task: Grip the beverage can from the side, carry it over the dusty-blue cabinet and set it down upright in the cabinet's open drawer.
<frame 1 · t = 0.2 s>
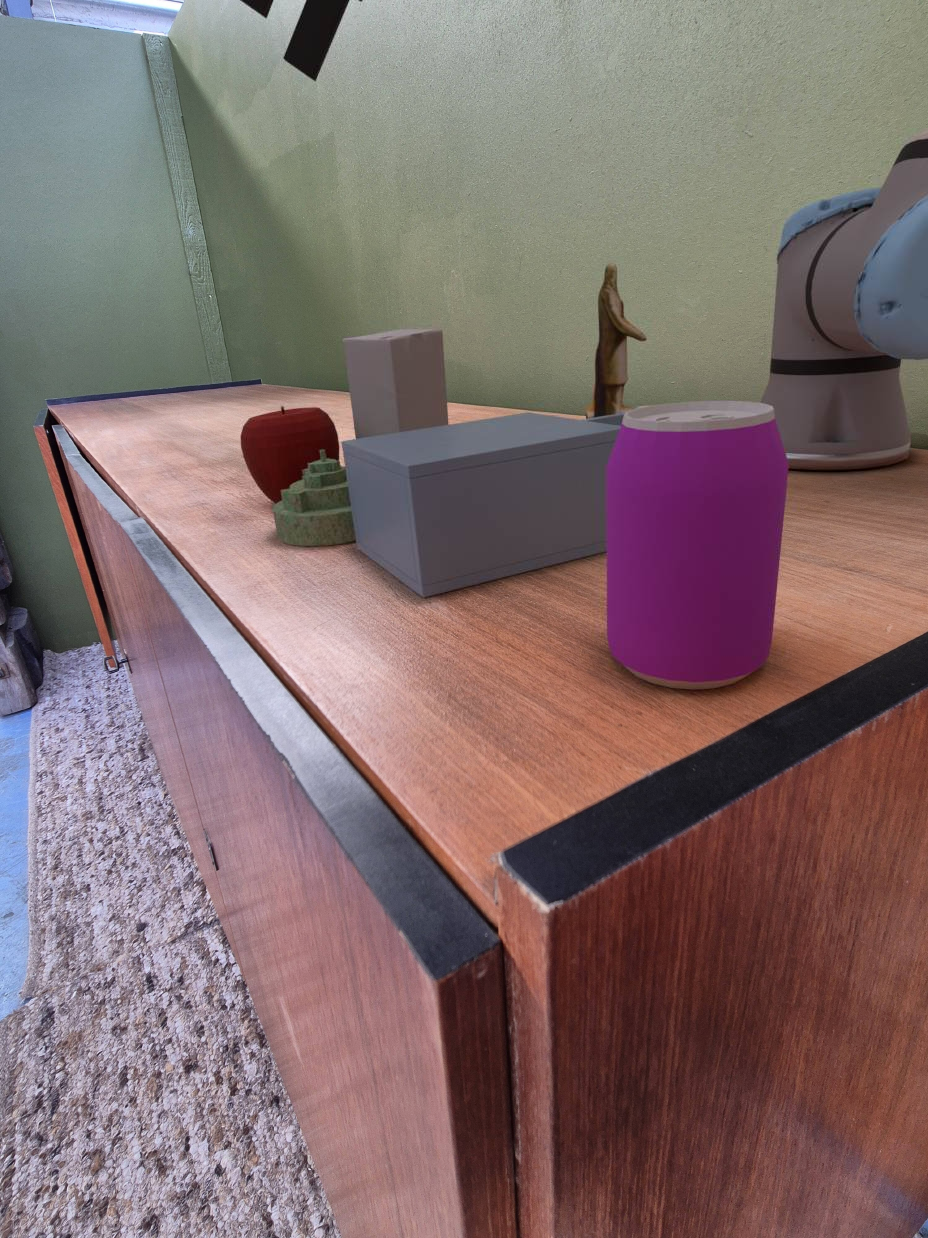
hand: (275, 40, 51), 36 cm above the table, tool tilted 35°, fingers open, 13 cm apart
cabinet: (486, 547, 55), on the table
decorative artifact: (335, 531, 64), on the table
figurine: (615, 474, 76), on the table
apple: (301, 506, 74), on the table
drawer: (644, 460, 59), point 4 cm above the table, slide at 11.0 cm
cosmetic box: (410, 492, 76), on the table
beverage can: (685, 663, 35), on the table
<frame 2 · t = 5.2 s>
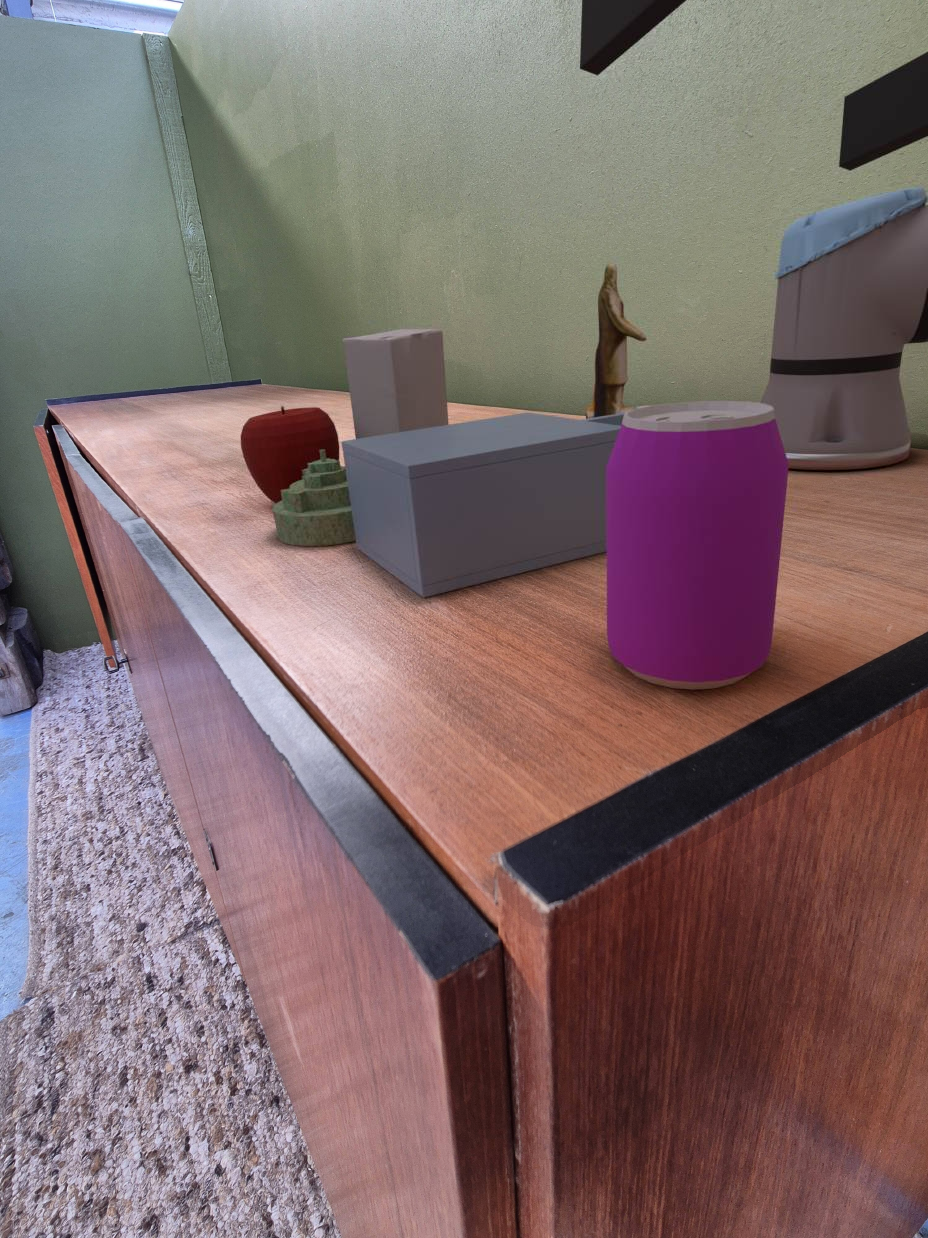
hand: (732, 87, 27), 24 cm above the table, tool horizontal, fingers open, 13 cm apart
nothing on the table moved.
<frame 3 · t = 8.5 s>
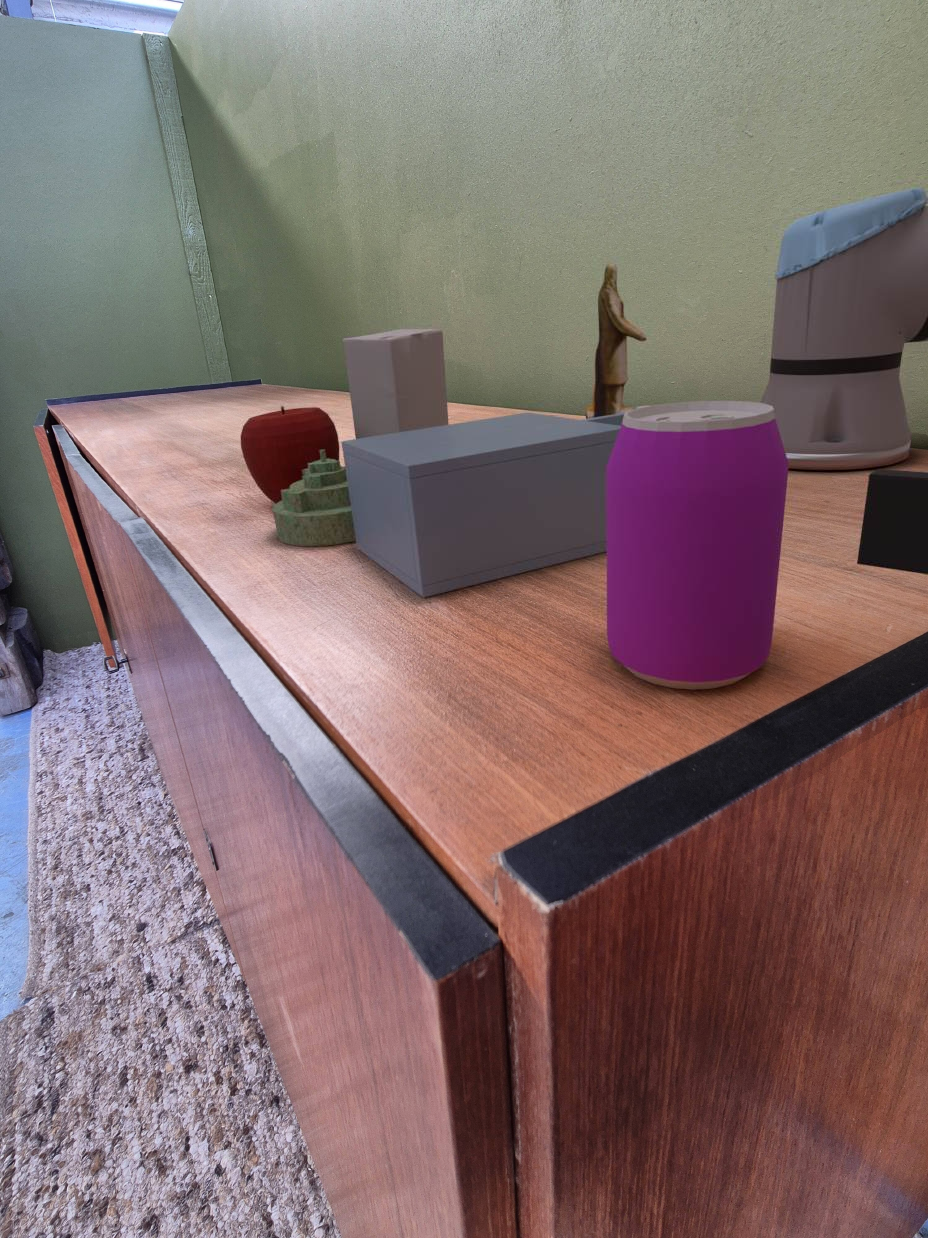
hand: (926, 470, 26), 10 cm above the table, tool horizontal, fingers open, 13 cm apart
nothing on the table moved.
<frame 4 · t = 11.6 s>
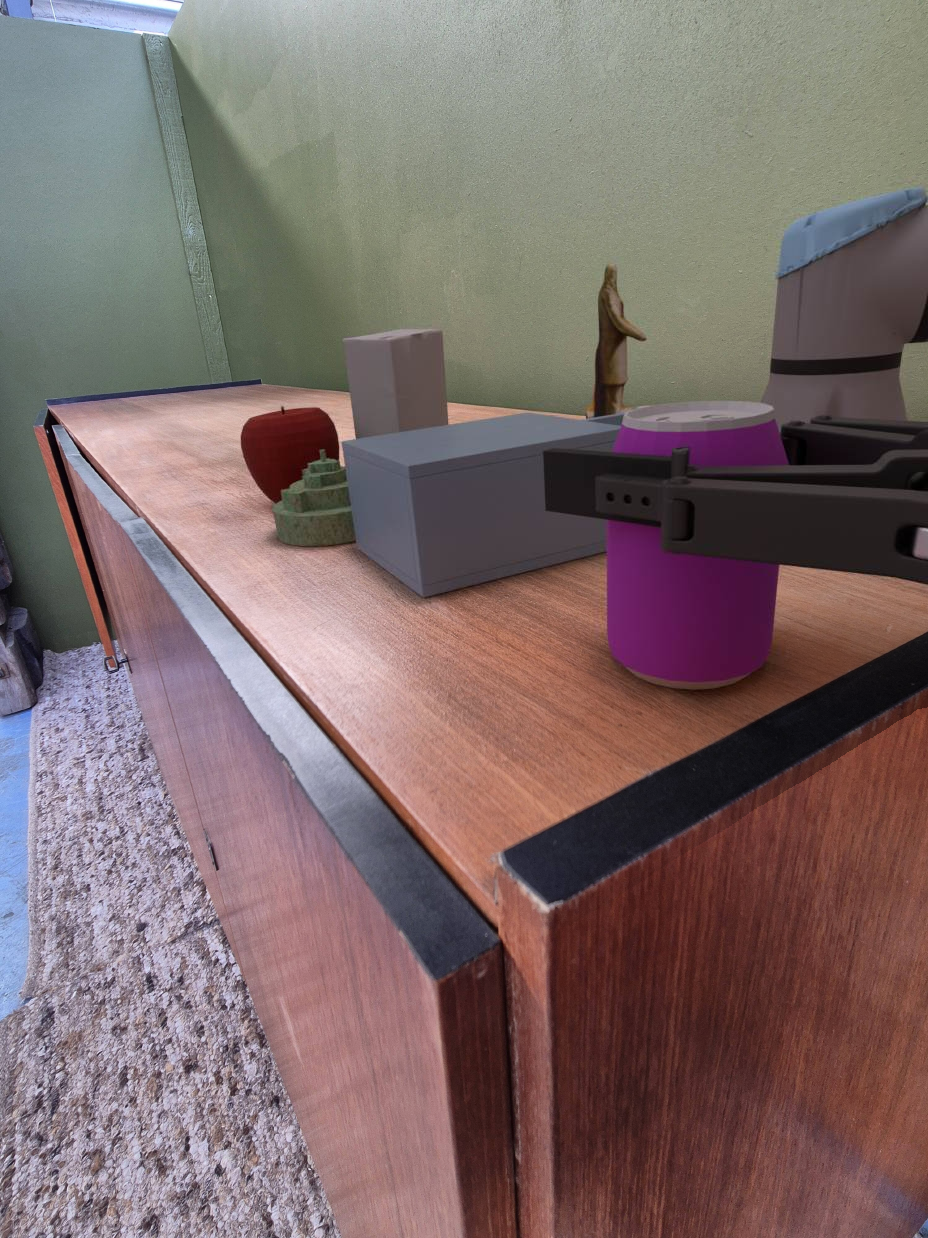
hand: (602, 461, 35), 9 cm above the table, tool horizontal, fingers closed on beverage can, 8 cm apart
beverage can: (685, 663, 35), on the table, touching gripper
everything else where it was.
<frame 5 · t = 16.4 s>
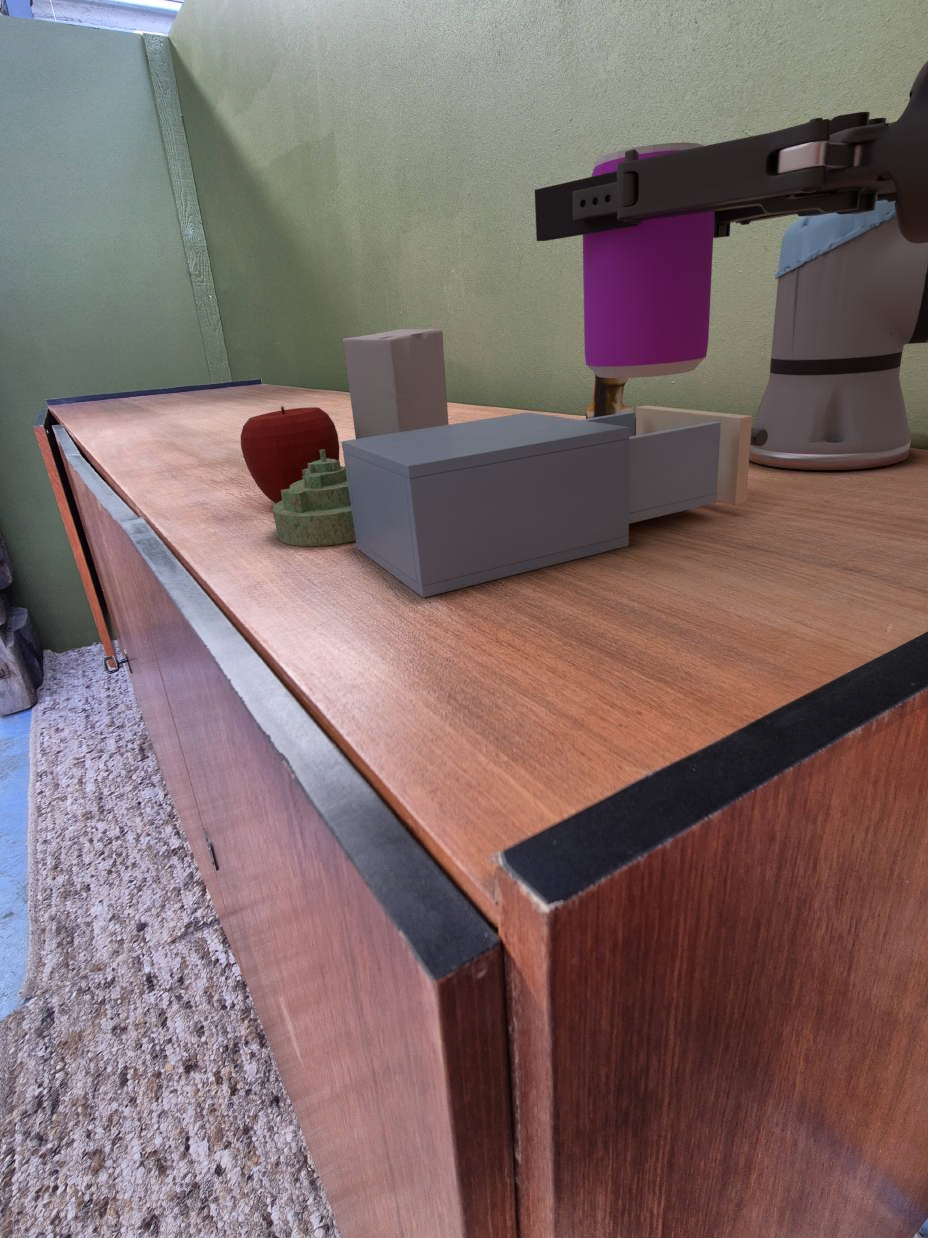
hand: (580, 217, 46), 22 cm above the table, tool horizontal, fingers closed on beverage can, 8 cm apart
beverage can: (645, 375, 46), point 12 cm above the table, touching gripper
everything else where it was.
when the fingers open (11 cm above the table, at t = 21.0 s): beverage can stays where it is, resting on drawer.
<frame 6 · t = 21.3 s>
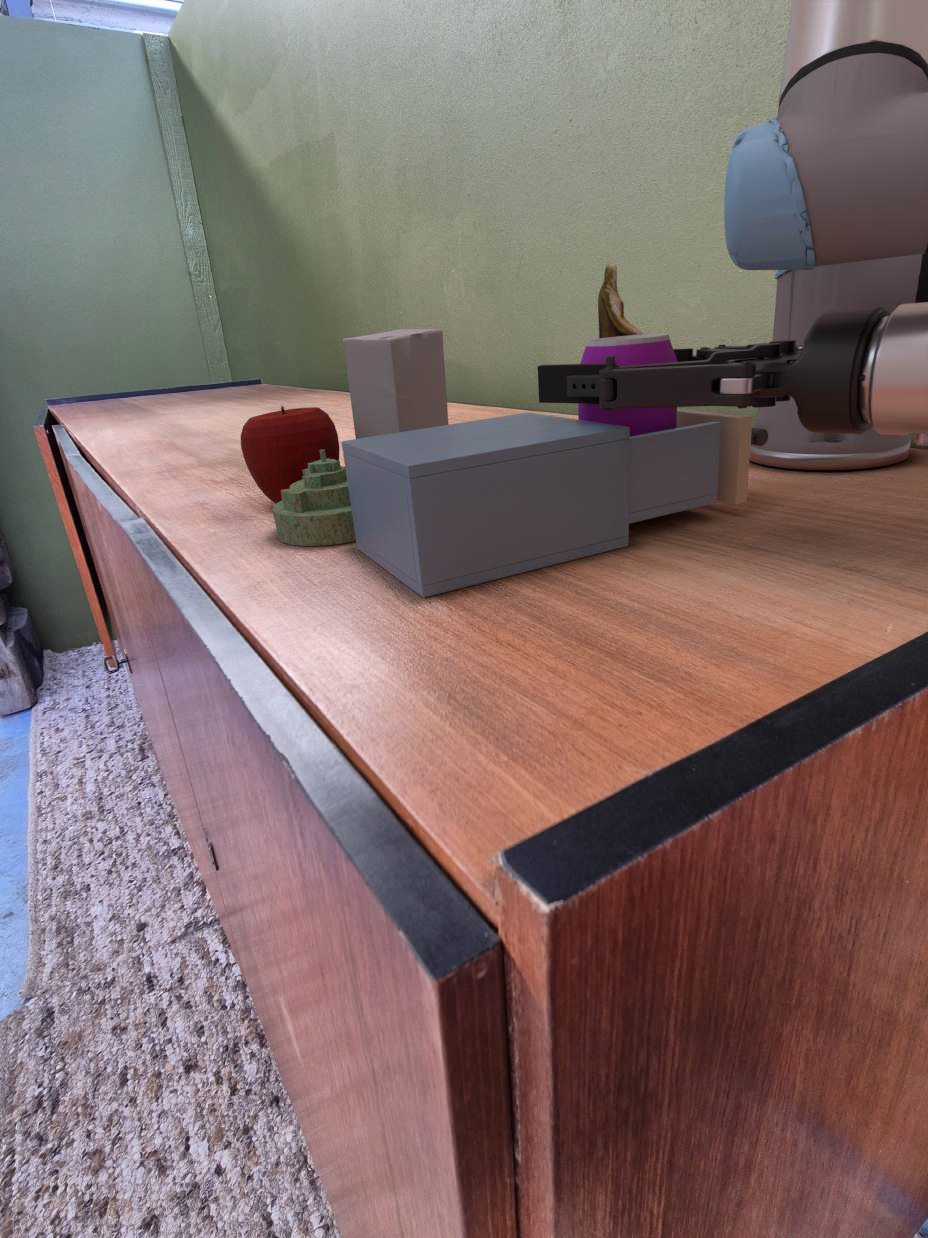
hand: (583, 375, 58), 11 cm above the table, tool horizontal, fingers open, 10 cm apart
drawer: (644, 460, 59), point 4 cm above the table, slide at 11.0 cm, touching beverage can
beverage can: (626, 493, 59), point 2 cm above the table, touching drawer
everything else where it was.
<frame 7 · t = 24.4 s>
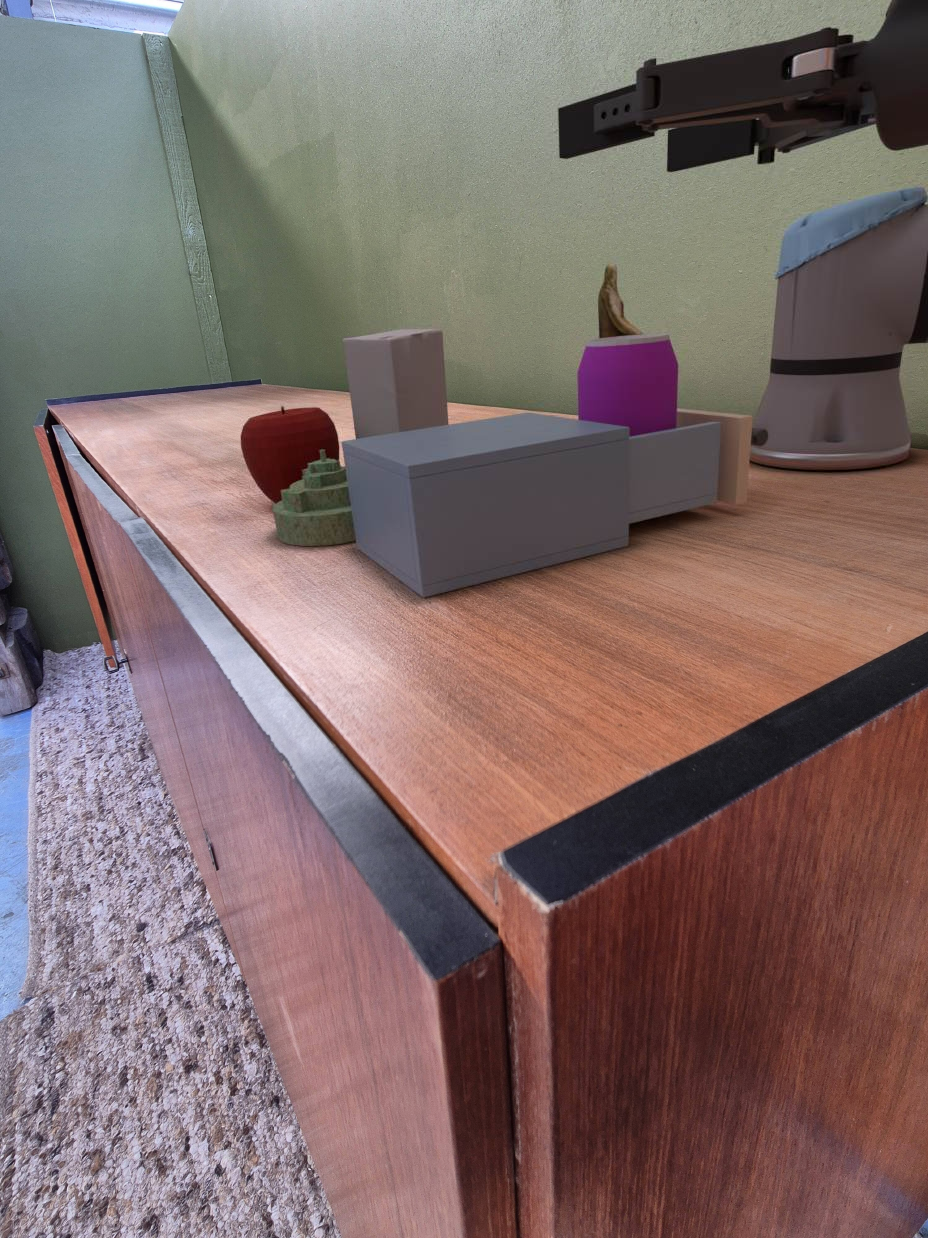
hand: (620, 143, 50), 27 cm above the table, tool horizontal, fingers open, 13 cm apart
nothing on the table moved.
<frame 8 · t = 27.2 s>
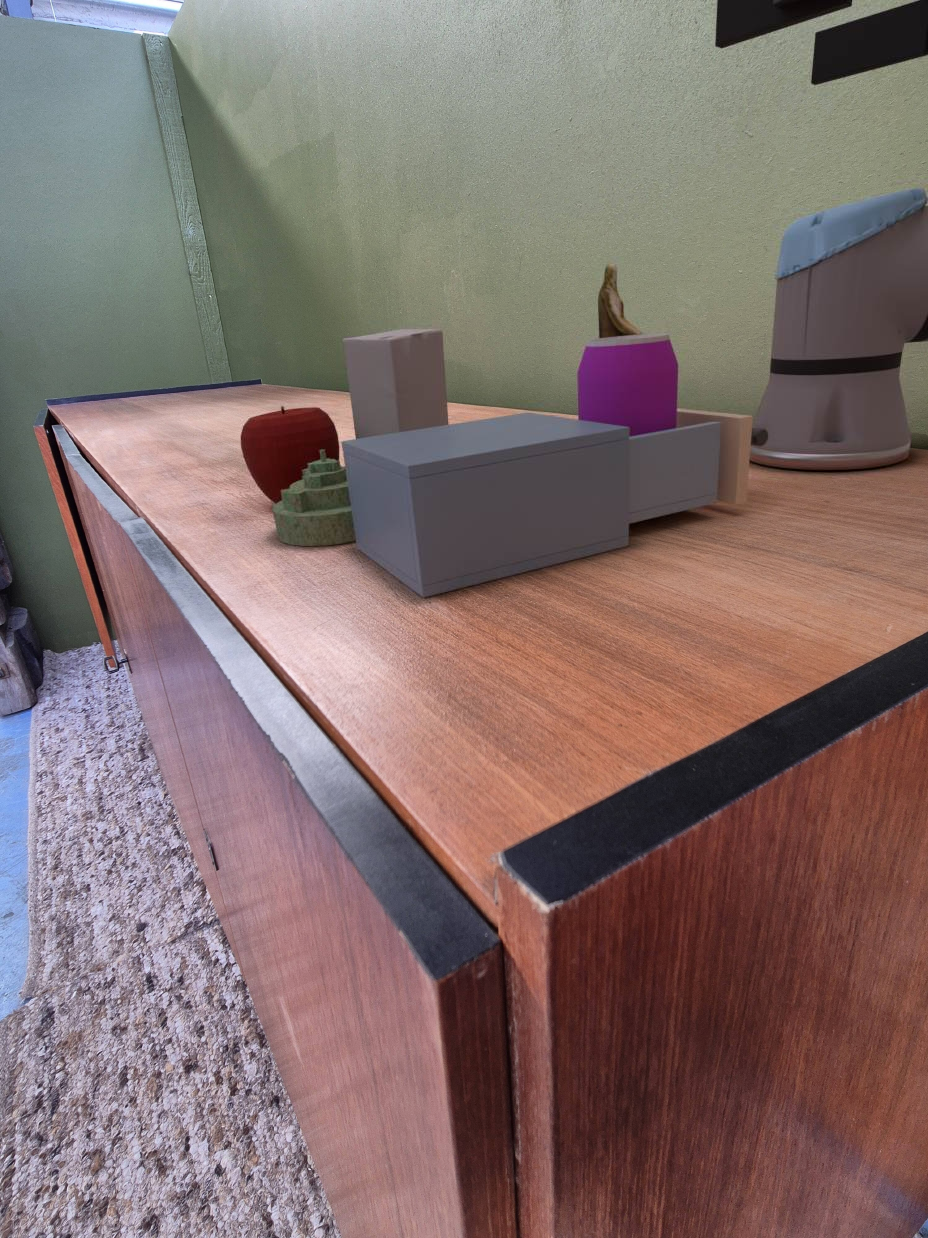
hand: (771, 39, 42), 30 cm above the table, tool horizontal, fingers open, 13 cm apart
nothing on the table moved.
at the end: drawer slide at 11.0 cm; beverage can inside the target area in the drawer (0.1 cm from its centre), point 1.8 cm above the cabinet's base; beverage can tilted 0° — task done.
